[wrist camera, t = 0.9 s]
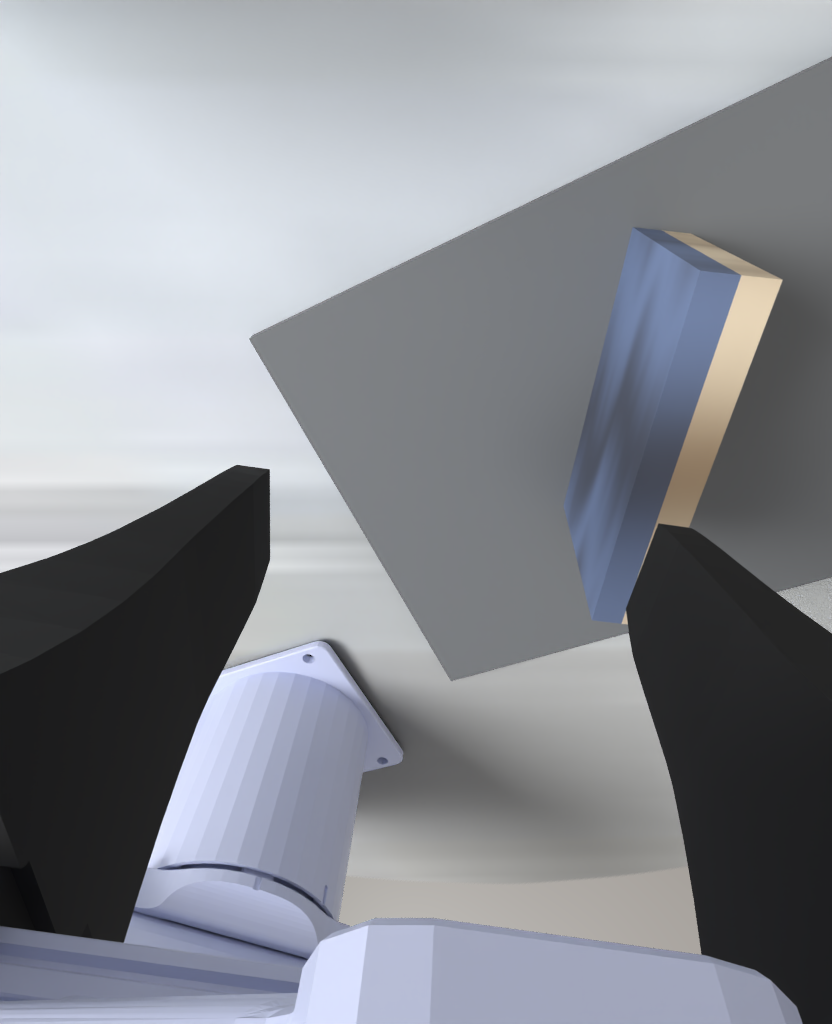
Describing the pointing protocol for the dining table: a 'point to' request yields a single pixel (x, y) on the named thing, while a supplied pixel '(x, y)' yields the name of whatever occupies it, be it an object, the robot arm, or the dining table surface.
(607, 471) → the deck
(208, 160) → the dining table surface
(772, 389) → the mat
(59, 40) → the dining table surface
